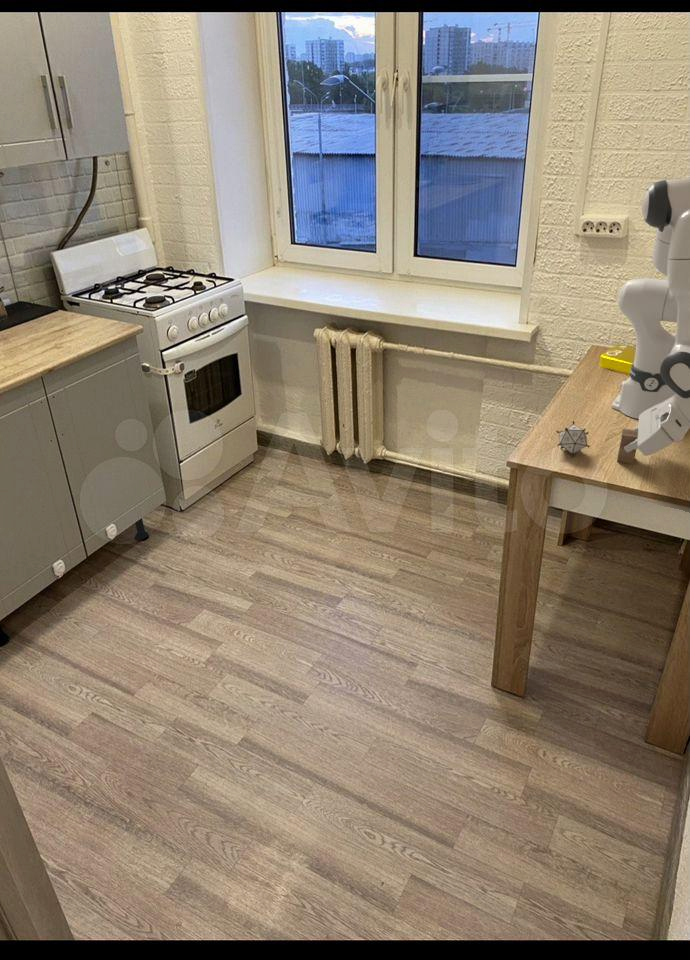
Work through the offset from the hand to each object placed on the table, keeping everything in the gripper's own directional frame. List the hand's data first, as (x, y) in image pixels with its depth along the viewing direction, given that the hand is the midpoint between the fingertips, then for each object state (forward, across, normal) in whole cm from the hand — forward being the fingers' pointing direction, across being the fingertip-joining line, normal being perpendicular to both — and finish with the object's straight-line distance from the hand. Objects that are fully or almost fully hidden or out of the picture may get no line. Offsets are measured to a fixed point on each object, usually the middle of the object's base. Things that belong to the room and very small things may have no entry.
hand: (625, 444), depth 186 cm
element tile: (+5, -70, +2) cm, 70 cm away
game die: (+13, 0, -6) cm, 14 cm away
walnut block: (+3, 0, +4) cm, 4 cm away
